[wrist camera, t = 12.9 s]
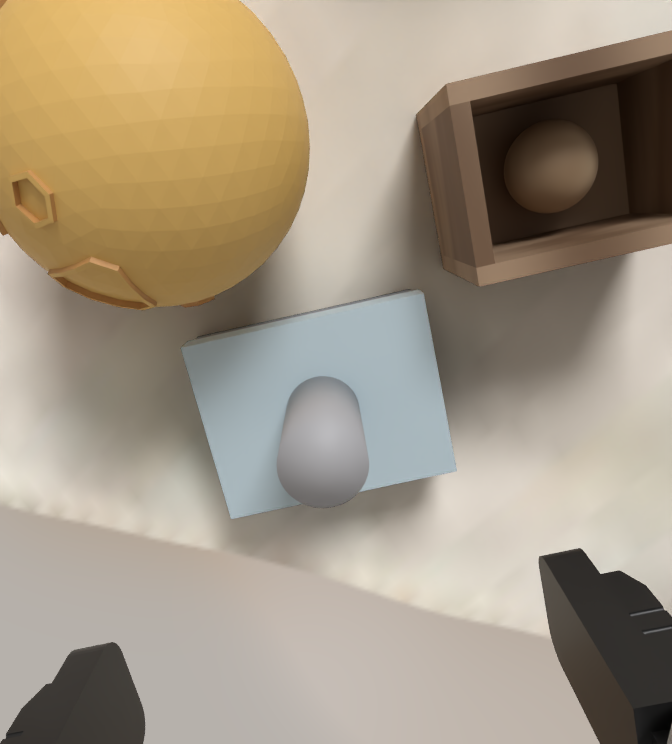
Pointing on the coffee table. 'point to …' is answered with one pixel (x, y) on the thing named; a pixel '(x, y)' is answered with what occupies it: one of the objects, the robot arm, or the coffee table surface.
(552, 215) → the walnut box
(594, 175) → the cork ball
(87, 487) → the coffee table surface
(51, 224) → the stress ball
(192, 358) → the lid
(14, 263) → the coffee table surface
